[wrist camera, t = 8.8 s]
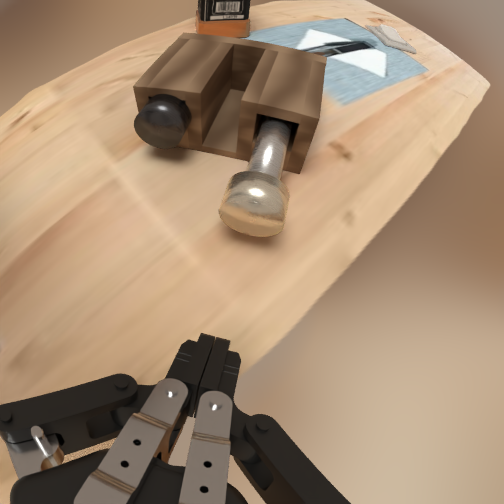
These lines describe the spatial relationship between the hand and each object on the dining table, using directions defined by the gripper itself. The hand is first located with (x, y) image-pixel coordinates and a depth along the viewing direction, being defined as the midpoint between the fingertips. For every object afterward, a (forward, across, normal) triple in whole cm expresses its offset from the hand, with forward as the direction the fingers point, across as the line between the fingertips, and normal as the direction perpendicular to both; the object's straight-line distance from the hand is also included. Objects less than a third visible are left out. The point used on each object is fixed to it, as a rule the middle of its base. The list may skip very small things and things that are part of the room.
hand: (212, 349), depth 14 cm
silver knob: (+20, 0, -7) cm, 21 cm away
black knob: (+26, +12, -13) cm, 31 cm away
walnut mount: (+29, +6, -12) cm, 32 cm away
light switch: (+69, -22, -50) cm, 88 cm away
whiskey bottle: (+50, +18, -33) cm, 63 cm away
